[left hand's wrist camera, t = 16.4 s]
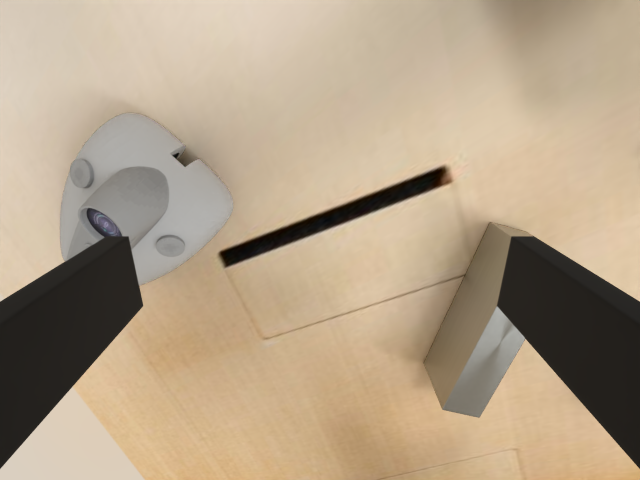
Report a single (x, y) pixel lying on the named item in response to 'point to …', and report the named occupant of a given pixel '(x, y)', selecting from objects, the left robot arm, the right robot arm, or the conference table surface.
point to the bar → (475, 332)
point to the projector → (141, 196)
